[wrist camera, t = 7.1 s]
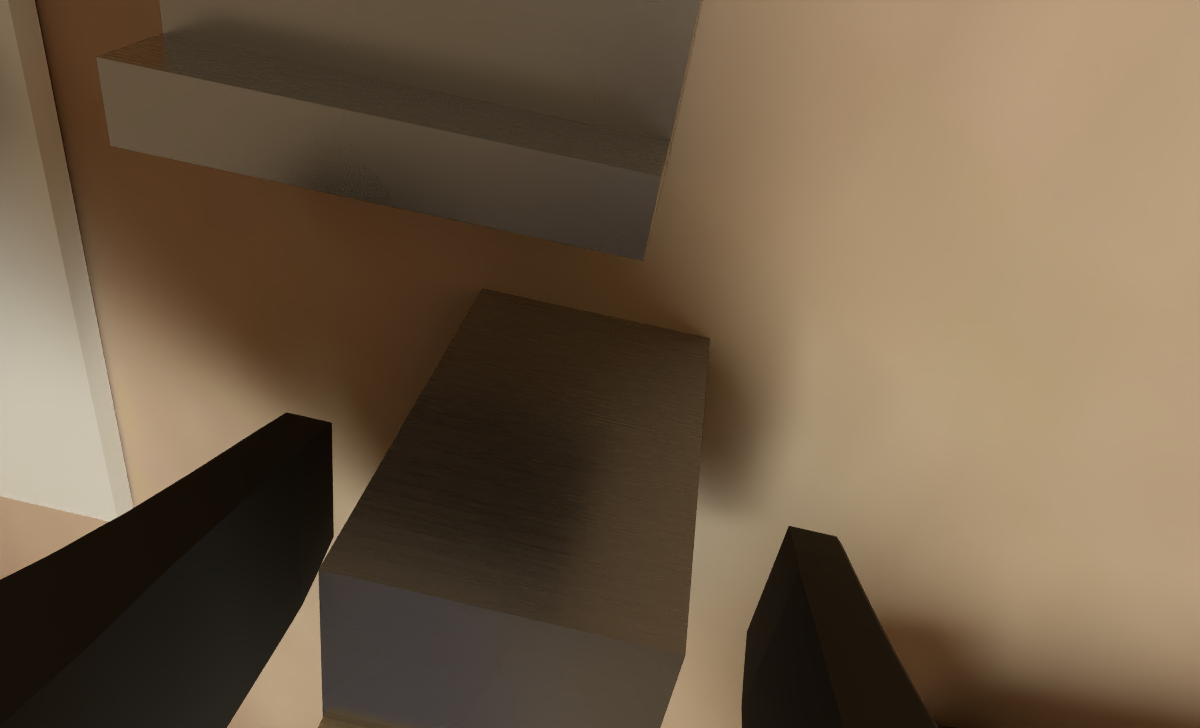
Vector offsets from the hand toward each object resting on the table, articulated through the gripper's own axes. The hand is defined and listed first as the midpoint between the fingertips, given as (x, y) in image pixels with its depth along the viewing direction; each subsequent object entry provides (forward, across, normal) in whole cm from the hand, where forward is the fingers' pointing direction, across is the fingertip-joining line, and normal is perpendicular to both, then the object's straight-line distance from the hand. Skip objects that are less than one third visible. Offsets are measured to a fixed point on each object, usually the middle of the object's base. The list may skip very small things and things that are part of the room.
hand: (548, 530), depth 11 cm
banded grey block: (+2, 0, 0) cm, 2 cm away
